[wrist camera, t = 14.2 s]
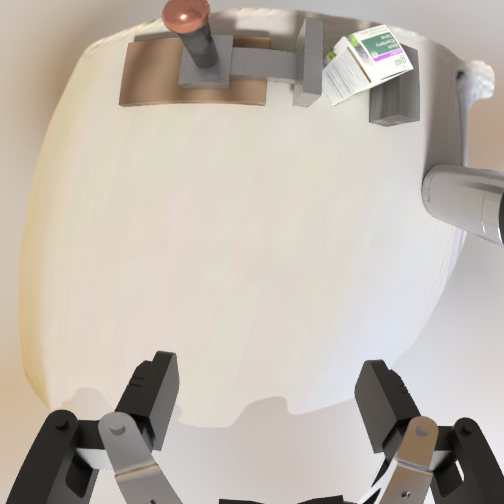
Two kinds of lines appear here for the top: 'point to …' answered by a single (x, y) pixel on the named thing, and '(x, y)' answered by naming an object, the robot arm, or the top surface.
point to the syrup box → (362, 63)
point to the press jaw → (243, 55)
